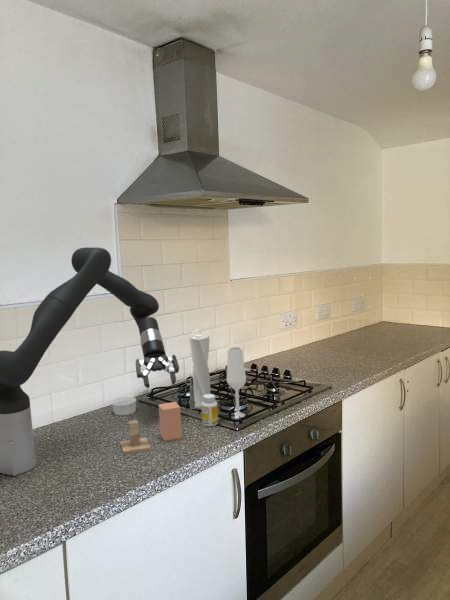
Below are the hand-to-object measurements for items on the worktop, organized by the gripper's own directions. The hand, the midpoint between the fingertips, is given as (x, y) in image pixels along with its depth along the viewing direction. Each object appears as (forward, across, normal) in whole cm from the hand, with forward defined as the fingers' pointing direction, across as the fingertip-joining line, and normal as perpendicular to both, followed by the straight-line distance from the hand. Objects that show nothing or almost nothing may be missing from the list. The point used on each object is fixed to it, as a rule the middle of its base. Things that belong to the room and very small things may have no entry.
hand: (161, 385), depth 164 cm
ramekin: (-4, -10, +23) cm, 26 cm away
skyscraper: (+1, +17, +19) cm, 26 cm away
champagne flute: (+13, +25, +7) cm, 29 cm away
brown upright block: (+17, 0, +2) cm, 17 cm away
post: (+19, -12, 0) cm, 23 cm away
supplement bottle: (+14, +15, +6) cm, 21 cm away
